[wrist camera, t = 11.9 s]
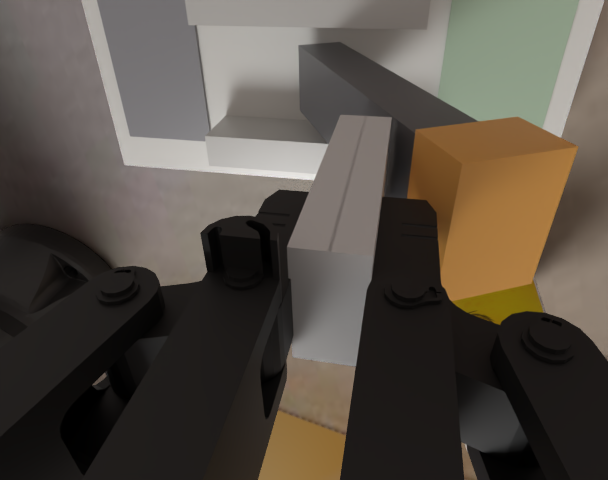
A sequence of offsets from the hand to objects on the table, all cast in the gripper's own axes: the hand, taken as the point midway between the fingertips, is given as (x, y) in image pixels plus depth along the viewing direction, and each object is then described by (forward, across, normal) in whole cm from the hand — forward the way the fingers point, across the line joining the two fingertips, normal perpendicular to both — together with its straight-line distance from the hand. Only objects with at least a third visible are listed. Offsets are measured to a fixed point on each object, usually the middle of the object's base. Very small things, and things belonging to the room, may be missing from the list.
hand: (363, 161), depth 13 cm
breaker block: (+18, -3, 0) cm, 18 cm away
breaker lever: (+10, -3, 0) cm, 11 cm away
